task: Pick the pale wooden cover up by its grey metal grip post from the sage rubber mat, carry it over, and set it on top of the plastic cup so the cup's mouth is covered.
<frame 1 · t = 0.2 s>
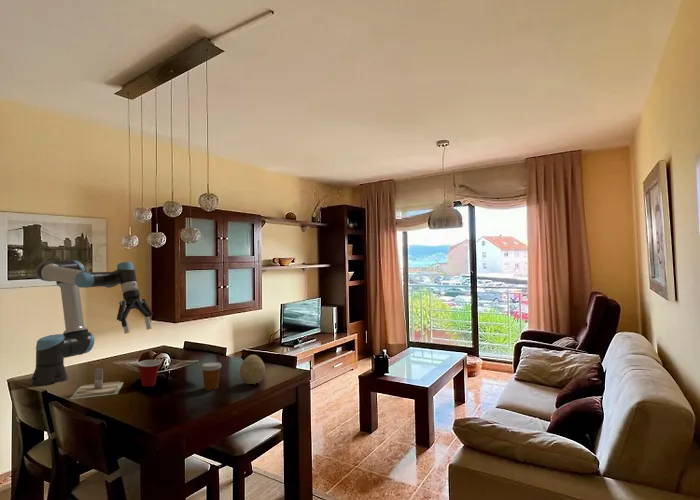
hand: (138, 331, 199), 27 cm above the table, tool tilted 20°, fingers open, 13 cm apart
cover: (98, 390, 189), resting on mat
mat: (98, 391, 189), on the table
plastic cup: (149, 386, 197), on the table
fossilized egg: (252, 384, 201), on the table
disposable coffee cup: (211, 388, 194), on the table
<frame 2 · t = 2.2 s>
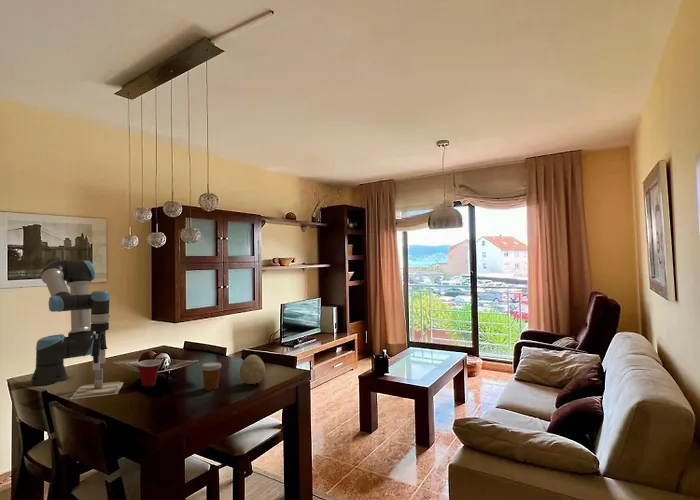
hand: (99, 366, 189), 12 cm above the table, tool pointing down, fingers open, 13 cm apart
nothing on the table moved.
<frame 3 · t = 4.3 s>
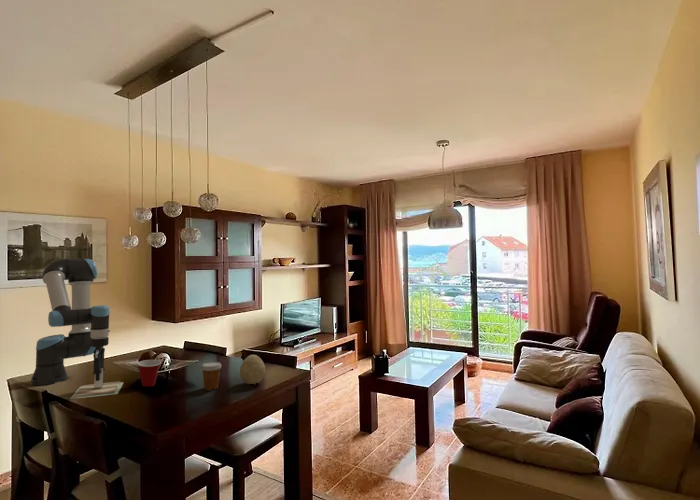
hand: (98, 385, 189), 3 cm above the table, tool pointing down, fingers closed on cover, 3 cm apart
cover: (98, 390, 189), resting on mat, touching gripper
everything else where it was.
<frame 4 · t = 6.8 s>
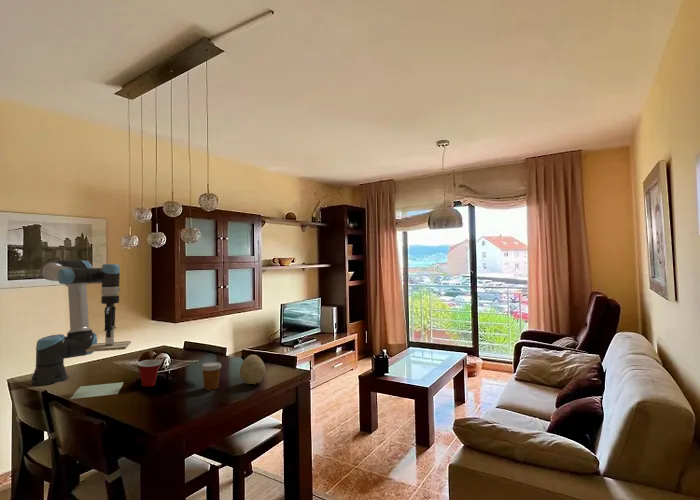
hand: (109, 343, 191), 23 cm above the table, tool pointing down, fingers closed on cover, 3 cm apart
cover: (109, 347, 191), point 21 cm above the table, touching gripper
everything else where it was.
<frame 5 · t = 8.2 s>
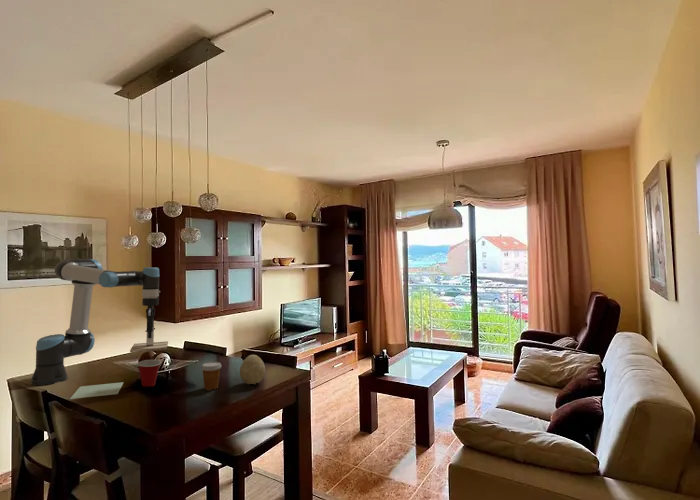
hand: (150, 343, 198), 21 cm above the table, tool pointing down, fingers closed on cover, 3 cm apart
cover: (149, 347, 198), point 19 cm above the table, touching gripper
everything else where it was.
when the fingers open (16 cm above the table, at t = 9.3 s): cover drops 2 cm, resting on plastic cup.
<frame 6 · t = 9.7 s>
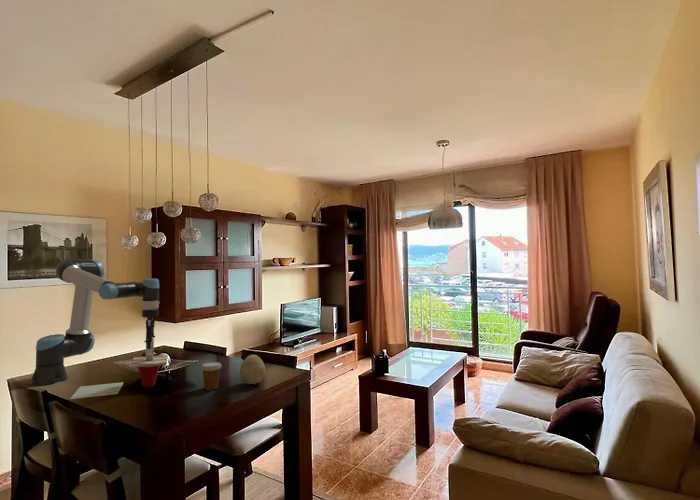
hand: (149, 352, 198), 17 cm above the table, tool pointing down, fingers open, 9 cm apart
cover: (149, 362, 198), point 12 cm above the table, touching plastic cup
plastic cup: (149, 386, 197), on the table, touching cover
everything else where it was.
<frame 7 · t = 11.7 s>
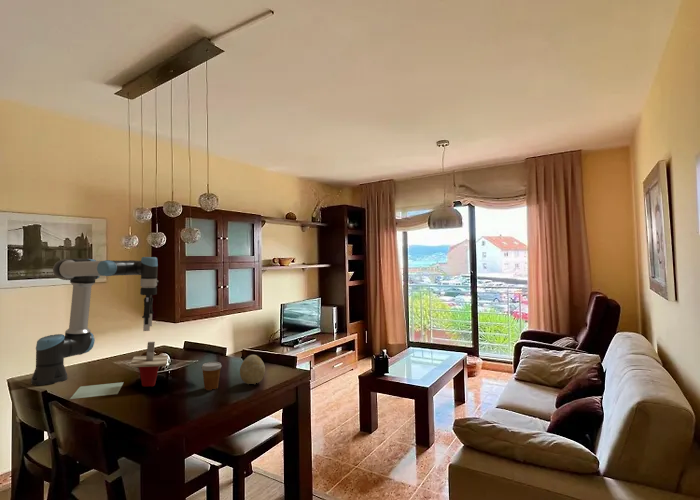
hand: (147, 328, 199), 29 cm above the table, tool pointing down, fingers open, 13 cm apart
nothing on the table moved.
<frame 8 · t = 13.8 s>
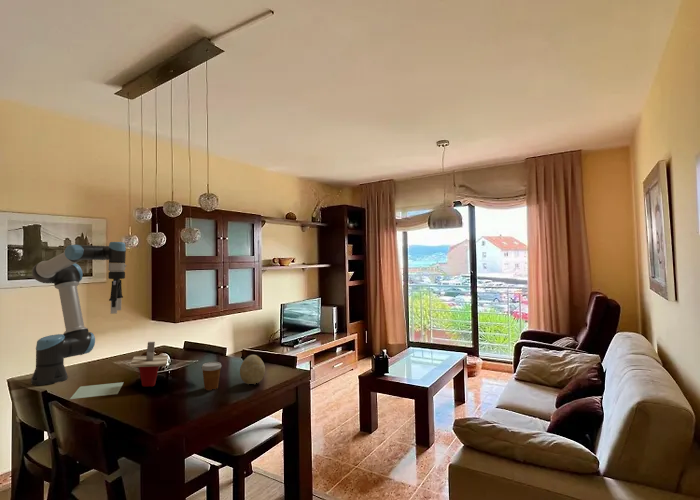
hand: (116, 311, 203), 37 cm above the table, tool pointing down, fingers open, 13 cm apart
nothing on the table moved.
at the end: cover 0.0 cm off-centre on the plastic cup, point 12.2 cm above the plastic cup's base; cover tilted 4°; plastic cup tilted 0° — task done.
